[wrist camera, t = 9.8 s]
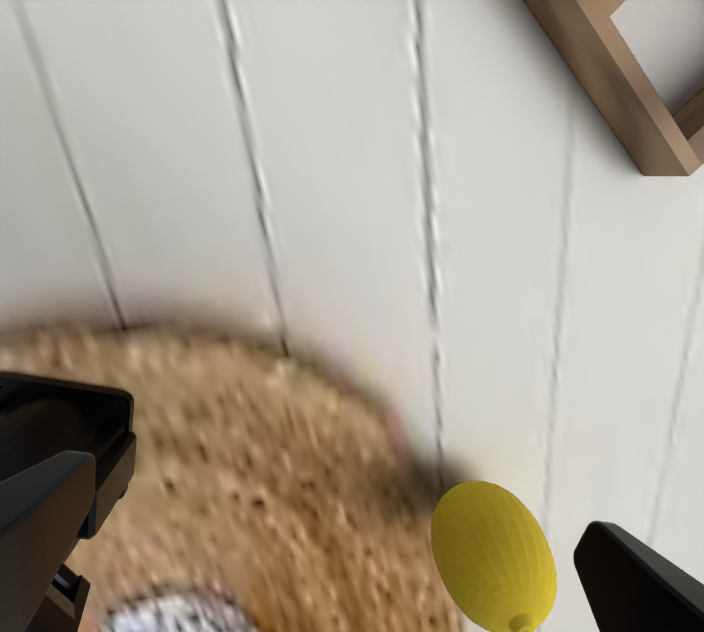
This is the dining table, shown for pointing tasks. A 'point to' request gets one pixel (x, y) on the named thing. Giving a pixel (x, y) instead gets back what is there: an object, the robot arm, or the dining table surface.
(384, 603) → the dining table surface
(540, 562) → the lemon
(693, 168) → the wooden compartment tray
